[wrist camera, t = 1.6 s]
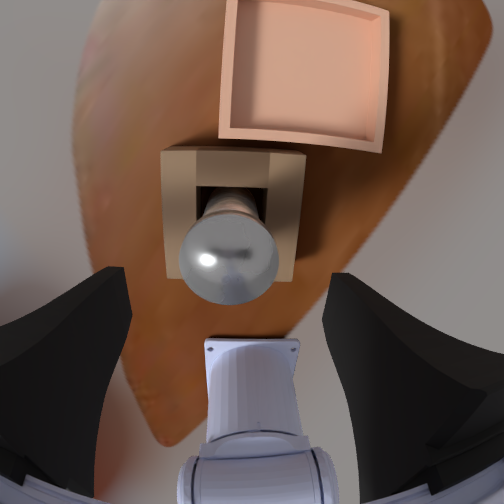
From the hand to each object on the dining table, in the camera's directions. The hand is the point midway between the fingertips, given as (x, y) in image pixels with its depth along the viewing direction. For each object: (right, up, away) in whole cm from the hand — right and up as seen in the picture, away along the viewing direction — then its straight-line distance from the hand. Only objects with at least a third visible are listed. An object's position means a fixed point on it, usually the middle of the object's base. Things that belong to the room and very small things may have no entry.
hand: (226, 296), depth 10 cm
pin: (-1, +4, +9) cm, 10 cm away
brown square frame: (-1, +4, +9) cm, 10 cm away
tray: (+4, +13, +6) cm, 15 cm away
